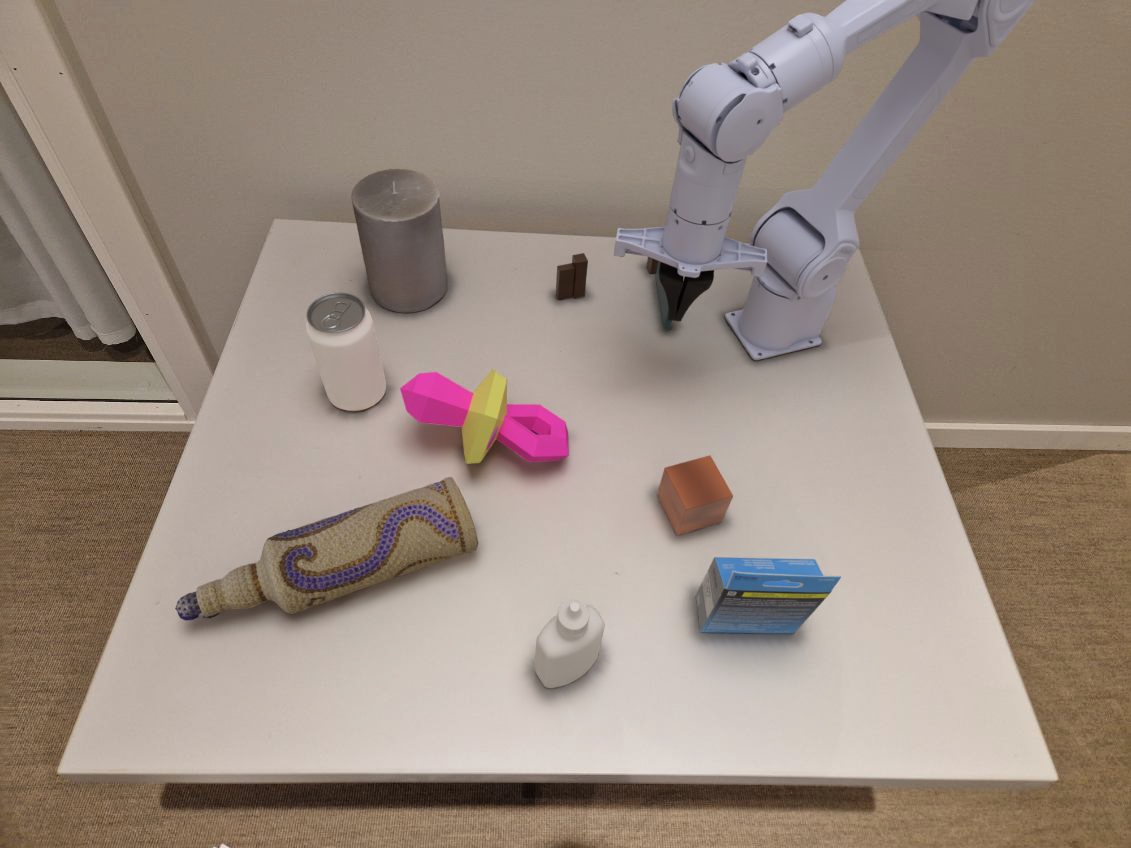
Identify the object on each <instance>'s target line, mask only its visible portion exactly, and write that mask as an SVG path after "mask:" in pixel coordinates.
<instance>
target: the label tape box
mask: <svg viewBox="0 0 1131 848" xmlns="http://www.w3.org/2000/svg"><path fill="white" fill-rule="evenodd" d="M841 578H842V575H824V574H823V571H822V570H821V567H820V566H819V564H818V561H817V560H816V559H815V558H772V557H771V558H770V557H769V558H768V557H767V558H766V557H763V558H761V557H760V558H759V557H725V556H724V557H720V556H719V557H718V556H714V558H712V561H711V563H710V565H709V567H708V569H707V572H706V574H705V575H704V577H703V579H702V582H701V583H700V585H699V587H698V589H697V592H696V594H695V600H696V608H697V615H698V622H699V631H700V632H701V633H724V634H725V633H729V634H731V633H733V634H734V633H735V634H738V633H739V634H795V633H796V632H797V631H798V630H799V629H800V628H801V627H802V626H803V625H804V624H805V622H807V620H808V619H809V618H810V617H811V616H813V613H815V612H816V610H817V609H818V608H819V607H820V606H821V605H822V604H823V603H824V601H825V600H826V599H827V598H828V596H829V595H830V594H831V593H832V591H833V590H834V588H835V587H836V586H837V584H838V583H839V581H840V580H841Z"/></svg>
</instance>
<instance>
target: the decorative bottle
mask: <svg viewBox="0 0 1131 848" xmlns="http://www.w3.org/2000/svg"><path fill="white" fill-rule="evenodd" d="M478 547H479V539H478V534H477V530H476V527H475V524H474V520H473V517H472V515H471V512H470V509H469V508H468V505H467V502H466V499H465V498H464V496H463V494H462V492H461V490H460V488H459V486H458V484H457V483H456V481H455V479H454V478H453V476H448V477H445V478H443V479H442V480H440V481H438V482H434V483H430V484H427V485H426V486H425V485H424V486H423V487H420V488H415V489H412V490H409V491H406V492H403V493H399V494H397V495H394V496H390V497H387V498H384V499H381V500H379V501H375V502H372V503H369V504H366V505H363V506H358V507H356V508H354V509H350V510H347V511H344V512H341V513H339V514H336V515H333V516H332V515H331V516H329V517H326V518H322V519H320V520H317V521H313V522H311V523H307V524H305V525H302V526H299V527H297V528H292V529H288V530H286V531H282V532H279V533H275V534H274V535H272V536H270V537H267V539H266V540H265V542H264V544H263V547H262V551H261V556H260V558H259V560H258V561H256V562H254V563H247V564H245V565H241V566H238V567H236V568H233V569H232V570H230V571H228V573H227V574H226V575H224V576H223V577H222V578H219V579H215V580H212V581H209V582H207V583H205V584H202V585H199V586H198V587H197V588H196V591H193V592H189V593H186V594H185V595H183V596H181V597H180V598H179V599H177V602H176V605H175V607H174V610H176V613H177V615H178V617H179V619H180V620H183V621H186V622H188V621H193V620H196V619H199V616H200V615H201V614H202V615H203V616H202V619H212V618H215V617H217V616H219V615H221V614H223V613H224V612H226V611H230V610H243V609H251V608H254V607H257V606H259V605H263V604H264V603H266V602H268V601H273V602H274V603H275V604H276V605H277V606H278V607H279V608H280V609H282V610H283V611H284V612H285V613H287V614H296V613H299V612H302V611H304V610H307V609H310V608H313V607H315V606H317V605H320V604H323V603H326V602H330V601H332V600H336V599H338V598H340V597H343V596H346V595H349V594H352V593H354V592H357V591H360V590H363V589H365V588H369V587H371V586H374V585H376V584H380V583H383V582H385V581H388V580H391V579H393V578H398V577H400V576H403V575H407V574H409V573H413V572H416V571H418V570H421V569H422V568H427V567H428V566H431V565H435V564H437V563H441V562H442V561H447V560H449V559H450V558H453V557H456V556H460V555H462V554H470V553H472V552H475V551H477V549H478Z"/></svg>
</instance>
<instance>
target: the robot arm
mask: <svg viewBox="0 0 1131 848" xmlns="http://www.w3.org/2000/svg"><path fill="white" fill-rule="evenodd" d="M1036 1H1037V0H845V1H843V2H841V3H840V4H839V5H838V6H837V7H836V8H834V9H833V10H832V11H830V12H829V13H828V14H826V15H825V16H822V15H820V14H818V13H816V12H815V13H814V12H805V13H802V14H801V13H799V14H798V15H796V16H794V17H793V18H791V19H790V20H789V21H788V22H787V24H785V25H784V26H782V27H781V28H780V29H778V30H777V31H775V32H774V33H772V34H770V35H769V36H767V37H766V38H764V39H763V40H762V41H760V42H759V43H757V44H755V45H754V46H753V47H751V48H749V49H748V50H747V51H745V52H744V53H742V54H740V55H739V56H738V57H736V58H735V59H733V60H732V61H730V62H729V63H725V62H719V64H718V63H717V62H713V63H710V64H704V65H702V66H700V67H699V68H697V69H696V70H694V71H693V72H691V74H690V75H689V76H688V77H687V78H686V79H685V82H684V83H683V85H682V87H681V88H680V90H679V93H678V96H677V97H675V98H674V99H673V100H672V104H671V110H672V111H671V112H672V117H673V119H674V121H675V122H676V124H677V125H678V135H677V140H676V141H677V143H678V144H679V151H678V157H677V161H676V165H675V166H676V167H675V172H674V176H673V177H674V178H673V183H672V187H671V191H670V198H669V204H668V208H667V214H666V219H665V224H664V226H655V227H643V228H642V227H641V228H624V227H623V228H621V227H618V228H617V230H616V235H615V243H614V251H613V256H614V257H619V258H624V257H626V254H628V255H633V256H634V255H635V256H642V257H647V258H648V257H650V258H653V259H655V260H658V261H660V267H659V279H660V282H661V284H662V286H663V288H664V291H665V294H666V297H667V302H668V309H669V314H668V320H672V322H673V321H674V322H680V323H681V322H682V321H683V318H684V317H685V314H686V313H687V311H688V310H689V308H690V307H691V306H692V305H693V303H694V302H695V301H696V300H697V299H698V298H699V297H700V296H701V295H702V294H703V293H705V292H706V291H708V290H709V289H710V288H711V286H712V285H713V283H714V279H715V271H718V270H729V269H731V270H732V269H733V270H737V271H738V270H739V271H746V272H750V274H751V276H752V277H753V278H752V280H751V281H752V282H751V285H750V287H749V290H748V292H747V297H746V299H745V302H744V305H743V308H742V309H738V310H734V311H728V312H726V313H725V315H724V319H725V320H726V321H727V323H728V324H729V326H730V328H731V329H732V331H733V332H734V333H735V335H736V336H737V338H738V340H739V341H740V343H741V344H742V346H743V347H744V349H745V350H746V352H747V353H748V354H749V356H750V358H751V359H752V360H754V361H760V360H764V359H769V358H772V357H776V356H781V355H785V354H789V353H793V352H797V351H801V350H805V349H809V348H813V347H818V346H820V345H822V343H823V340H822V338H820V335H821V332H822V330H823V328H824V326H825V324H826V321H827V320H828V317H829V316H830V314H831V311H832V309H833V306H834V305H835V302H836V296H837V286H836V285H837V284H838V283H839V281H840V280H841V278H842V277H843V276H844V274H845V272H846V269H847V267H848V264H849V263H850V261H851V260H852V258H853V256H854V255H855V254H856V252H857V250H859V248H860V237H859V233H858V229H857V223H856V219H855V217H856V216H855V215H856V213H857V211H858V210H859V209H860V207H861V206H862V205H863V204H864V203H865V201H866V200H867V199H868V198H869V196H870V195H871V194H872V192H873V191H874V190H875V188H876V187H877V186H878V185H879V184H880V182H881V181H882V180H883V179H884V178H885V176H886V174H888V173H889V171H890V169H892V167H893V166H894V165H895V164H896V162H897V161H898V160H899V158H900V157H901V155H902V154H903V153H904V151H905V150H906V149H907V148H908V147H909V145H911V143H912V141H913V140H914V139H915V138H916V136H917V135H918V134H919V133H920V131H921V130H922V129H923V128H924V127H925V125H926V124H927V123H928V121H929V120H930V119H931V118H932V116H933V115H934V114H935V113H936V112H937V110H938V109H939V107H940V106H941V105H942V103H944V101H945V100H946V98H947V97H948V96H949V95H950V94H951V92H953V90H954V89H955V87H956V86H957V85H958V83H959V82H960V81H961V80H962V79H963V77H964V76H965V75H966V73H967V72H968V71H969V69H970V68H971V67H972V66H973V64H974V63H975V62H976V61H977V59H978V58H979V59H980V58H988V57H991V56H992V55H993V54H994V53H995V51H996V50H997V49H998V47H999V46H1000V45H1001V44H1002V43H1003V42H1004V41H1005V40H1006V38H1007V37H1008V36H1009V35H1010V33H1011V32H1012V31H1013V30H1014V28H1016V25H1017V24H1018V23H1019V22H1020V20H1021V19H1022V18H1023V17H1024V16H1025V14H1026V13H1027V12H1028V11H1029V9H1030V8H1031V7H1032V6H1033V4H1034V3H1035V2H1036ZM914 17H916V18H917V20H919V41H918V43H917V44H916V46H915V47H914V48H913V50H912V51H911V53H910V54H909V55H908V56H907V58H906V59H905V61H904V62H903V64H901V66H900V68H899V69H898V71H897V72H896V73H895V74H894V76H893V77H892V79H891V80H890V81H889V82H888V84H887V85H886V87H885V88H884V89H883V91H882V92H881V93H880V95H879V96H878V97H877V98H876V100H875V102H873V104H872V105H871V106H870V108H869V110H868V111H867V112H866V114H865V115H864V116H863V118H862V119H861V120H860V122H859V123H858V125H857V126H856V127H855V128H854V130H853V131H852V132H851V134H850V135H849V137H848V138H847V140H846V141H845V142H844V144H843V145H842V146H841V147H840V149H839V151H838V152H837V153H836V155H834V157H833V159H832V160H831V161H830V163H829V164H828V165H827V167H826V168H825V169H824V171H823V172H822V174H821V175H820V176H819V178H818V179H817V180H816V182H815V183H814V184H813V186H812V187H810V188H806V189H798V190H790V191H787V192H784V194H783V195H782V196H781V198H780V199H779V200H778V202H776V203H775V205H773V207H771V208H770V209H769V210H768V211H766V212H765V213H764V214H763V215H762V216H761V217H759V219H758V220H757V222H756V223H755V225H754V226H753V228H752V231H751V234H750V237H749V242H748V243H749V244H747V243H745V242H741V241H740V240H736V239H734V238H731V237H728V236H726V234H727V232H728V231H727V230H728V227H729V224H730V219H731V217H732V213H733V209H734V205H735V202H736V198H737V195H738V191H739V187H740V184H741V181H742V177H743V173H744V169H745V167H746V163H747V158H748V157H749V156H751V155H754V154H755V153H756V152H757V151H758V150H759V149H760V148H761V147H762V146H763V144H764V143H765V142H766V140H767V139H768V137H769V136H770V134H771V132H772V131H773V130H774V129H775V128H776V127H778V126H779V125H780V122H782V121H783V120H784V114H785V113H787V112H788V111H790V110H791V109H793V108H794V107H795V106H797V105H799V104H800V103H802V102H804V101H805V100H806V99H808V98H809V97H811V96H812V95H814V94H816V93H817V92H818V91H819V90H821V89H823V88H824V87H826V86H827V85H829V84H830V83H832V82H833V81H835V80H836V79H838V76H839V75H840V73H841V71H842V69H843V65H844V61H845V57H846V55H849V54H850V53H851V52H853V51H855V50H858V49H859V48H861V47H863V46H864V45H867V43H869V42H871V41H873V40H875V39H877V38H878V37H880V36H882V35H883V34H886V33H887V32H889V31H891V30H893V29H894V28H896V27H897V26H899V25H901V24H903V23H905V22H906V21H908V20H911V19H912V18H914Z"/></svg>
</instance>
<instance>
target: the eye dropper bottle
mask: <svg viewBox="0 0 1131 848" xmlns="http://www.w3.org/2000/svg"><path fill="white" fill-rule="evenodd" d="M605 627H606V624H605V620H604V618H603V617H602V615H601V613H600V612H599V610H597V608H596V607H594V606H593V605H590V604H587V605H586V604H584V602H582V601H580V600H576V599H570V600H566V601H564V602H563V603H562V604H561V605H560V606H559V607H558V610H557V614H556V615H555V616H553V617H552V618H551V619H550V620H549V621H548V622H547V623H546V624H545V625H544V626H543V627H542V628H541V630H540V632H539V633H538V635H537V637H536V641H535V653H534V672H535V674H536V676H537V677H538V680H540V682H541V684H542V685H543V686H544V687H545V688H547V689H555V688H556V689H557V688H560V687H565V686H567V685H569V684H571V683H573V682H576V681H577V680H579V679H580V678H581V677H583V676H585V674H587V673H588V671H589V670H590V669H591V668H592V667H593V665H595V663H596V661H597V660H598V657H599V654H600V650H601V645H602V641H603V638H604V633H605Z"/></svg>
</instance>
